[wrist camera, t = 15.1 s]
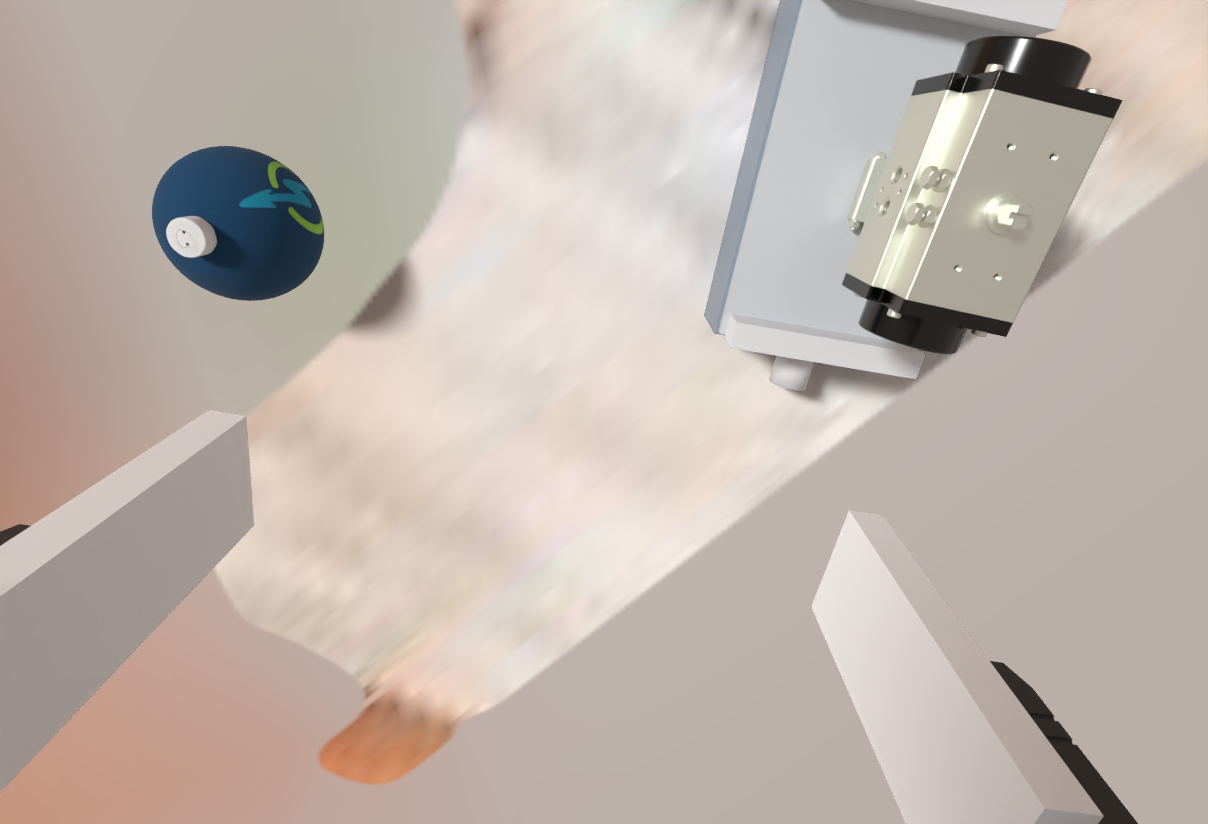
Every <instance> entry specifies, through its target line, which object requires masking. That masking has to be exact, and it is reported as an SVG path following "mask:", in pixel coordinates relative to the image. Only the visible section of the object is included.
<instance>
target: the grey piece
mask: <svg viewBox="0 0 1208 824" xmlns="http://www.w3.org/2000/svg"><path fill="white" fill-rule="evenodd" d="M1067 2H1068V0H780V4H779V8H778V12H777V16H776V20H775V25H774V29H773V33H772V37H771V41H770V45H769V49H768V54H767V58H766V62H765V66H764V70H763V74H762V78H761V83H760V87H759V91H758V95H757V99H756V103H755V107H754V112H753V116H752V120H751V124H750V128H749V132H748V136H747V140H746V145H745V149H744V153H743V157H742V161H741V165H740V169H739V174H738V178H737V182H736V186H735V190H734V194H733V198H732V203H731V207H730V211H729V215H728V219H727V223H726V227H725V232H724V236H723V240H722V244H721V248H720V252H719V256H718V261H717V265H716V269H715V273H714V277H713V281H712V285H711V290H710V294H709V298H708V302H707V306H706V310H705V314H704V316H705V317H706V319H707V321H708V323H709V325H710V326H711V328H712V330H713V332H714V334H720V335H725V336H724V338H725V340H726V342H727V343H728V345H729V347H730V348H734V349H740V350H746V351H752V352H758V353H763V354H769V355H775V356H776V358H775V362H774V365H773V368H772V372H771V375H770V378H769V380H770V381H771V382H772V383H773V384H775V385H777V386H779V387H782V388H785V389H789V390H795V391H803V390H805V389H806V386H807V383H808V380H809V377H810V374H811V371H812V368H813V365H814V362H817V363H822V364H828V365H834V366H840V367H846V368H852V369H858V370H864V371H870V372H876V373H882V374H887V375H893V376H899V377H905V378H911V379H916V378H917V375H918V373H919V370H920V368H921V366H922V363H923V361H924V358H925V356H926V355H925V354H924V353H922V352H921V351H919V350H918V349H916V348H912V347H908V346H905V345H902V344H899V343H895V342H892V341H890V340H887V339H884V338H882V337H879V336H877V335H875V334H872V333H870V332H868V331H866V330H865V329H863V328H862V327H861V326H860V325H859V323H858V322H859V319H860V317H861V314H862V311H863V309H864V306H865V304H866V301H867V299H865V298H861V297H858V296H855V295H854V292H853V291H851V290H849V289H848V288H846V287H844V286H843V285H842V283H843V280H844V277H845V274H846V272H847V269H848V266H849V264H850V261H851V258H852V255H853V253H854V250H855V247H856V244H857V242H858V239H859V236H860V234H861V231H862V228H863V225H864V222H863V223H861V225H860V228H857V229H856V230H852V229H850V227H851V226H848V225H849V222H850V220H849V219H850V218H847V216H848V213H849V211H850V208H851V205H852V202H853V199H854V196H855V194H856V191H857V188H858V185H859V182H860V180H861V177H862V174H863V171H864V168H865V165H866V163H867V160H868V157H872V156H873V155H874V152H875V151H878V152H883V153H886V157H885V158H888V157H889V154H890V152H891V149H892V146H893V143H894V141H895V138H896V135H897V133H898V130H899V127H900V124H901V122H902V119H903V116H904V113H905V111H906V108H907V105H908V103H909V100H910V97H911V94H912V92H913V89H914V86H915V83H916V81H917V80H921V79H925V78H930V77H934V76H939V75H943V74H947V73H952V72H955V71H956V69H957V66H958V63H959V61H960V58H961V56H962V53H963V50H964V48H965V45H966V44H967V43H968V42H969V41H971V40H974V39H977V38H981V37H988V36H1024V37H1034V38H1035V36H1036V35H1039V34H1042V33H1046V32H1050V31H1053V30H1056V29H1057V27H1058V24H1059V22H1060V19H1061V17H1062V14H1063V12H1064V9H1065V7H1066V4H1067ZM852 207H853V206H852Z"/></svg>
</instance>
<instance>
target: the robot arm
mask: <svg viewBox="0 0 1208 824" xmlns="http://www.w3.org/2000/svg"><path fill="white" fill-rule="evenodd" d="M253 526H254V518H253V504H252V490H251V476H250V462H249V448H248V434H247V420H246V416H242V415H235V414H229V413H223V412H216V411H210V410H209V411H207V412H206V413H204V414H203V415H201V416H199V417H198V418H196V419H195V420H193V421H192V422H190V423H189V424H187V425H186V426H184V427H183V428H181V429H179V430H178V431H177V432H175V433H173V434H172V435H170V436H169V437H167V438H166V439H164V440H163V441H161V442H159V443H158V444H156V445H155V446H154V447H152V448H150V449H149V450H147V451H146V452H144V453H143V454H141V455H139V456H138V457H137V458H135V459H133V460H132V461H130V462H129V463H127V464H126V465H124V466H123V467H121V468H120V469H118V470H117V471H115V472H113V473H112V474H110V475H109V476H107V477H106V478H104V479H103V480H101V481H99V482H98V483H96V484H95V485H93V486H92V487H90V488H89V489H87V490H86V491H85V492H83V493H81V494H80V495H78V496H76V497H75V498H73V499H72V500H70V501H69V502H67V503H66V504H64V505H63V506H61V507H59V508H58V509H56V510H55V511H53V512H52V513H50V514H49V515H47V516H46V517H44V518H43V519H41V520H39V521H38V522H36V523H35V524H34V525H32V526H28V525H21V524H19V525H16V526H14V527H12V528H9V529H6V530H4V531H1V532H0V792H1V791H2V790H3V789H4V788H5V787H6V786H7V785H8V784H9V783H10V782H11V781H12V779H13V778H15V776H16V775H17V774H18V773H19V772H20V771H21V770H22V769H23V768H24V767H25V766H26V765H27V764H28V763H29V762H30V761H31V760H32V758H34V756H35V755H36V754H37V753H38V752H39V751H40V750H41V749H42V748H43V747H44V746H45V745H46V744H47V743H48V742H49V741H50V740H51V738H52V737H53V736H54V735H55V734H56V733H57V732H58V731H59V730H60V729H61V728H62V727H63V726H64V725H65V723H67V721H69V720H70V719H71V718H72V716H73V715H74V714H75V713H76V712H77V711H78V710H79V709H80V708H81V707H82V706H83V705H84V704H85V703H86V702H87V701H88V700H89V699H90V697H91V696H92V695H93V694H94V693H95V692H96V691H97V690H98V689H99V688H100V687H101V686H102V685H103V684H104V683H105V682H106V681H107V680H108V679H109V677H110V676H111V675H112V674H113V673H114V672H115V671H116V670H117V669H118V668H119V667H120V666H121V665H122V664H123V663H124V662H125V661H126V659H127V658H128V657H129V656H130V655H131V654H132V653H133V652H134V651H135V650H136V649H137V648H138V647H139V646H140V645H141V644H142V643H143V642H144V641H145V640H146V638H147V637H148V636H149V635H150V634H151V633H152V632H153V631H154V630H155V629H156V628H157V627H158V626H159V625H160V624H161V623H162V622H163V621H164V620H165V619H166V617H167V616H168V615H169V614H170V613H171V612H172V611H173V610H174V609H175V608H176V607H177V606H178V605H179V604H180V603H181V602H182V601H183V600H184V598H185V597H186V596H187V595H188V594H189V593H190V592H191V591H192V590H193V589H194V588H195V587H196V586H197V585H198V584H199V583H200V582H201V581H202V579H203V578H204V577H205V576H206V575H207V574H208V573H209V572H210V571H211V570H212V569H213V568H214V567H215V566H216V565H217V564H218V563H219V562H220V561H221V560H222V558H223V557H224V556H225V555H226V554H227V553H228V552H229V551H230V550H231V549H232V548H233V547H234V546H235V545H236V544H237V543H238V542H239V541H240V540H241V538H242V537H243V536H244V535H245V534H246V533H247V532H248V531H249V530H250V529H251V528H252V527H253ZM811 607H812V609H813V611H814V613H815V616H816V618H817V621H818V623H819V625H820V628H821V630H822V632H823V634H824V637H825V639H826V641H827V644H828V646H829V648H830V651H831V653H832V655H833V657H834V660H835V662H836V664H837V666H838V669H839V671H840V673H841V676H842V678H843V680H844V683H845V685H846V687H847V690H848V692H849V694H850V696H851V699H852V701H853V703H854V706H855V708H856V710H857V712H858V715H859V717H860V719H861V722H862V724H863V726H864V729H865V731H866V733H867V735H868V738H869V740H870V742H871V745H872V747H873V749H874V752H875V754H876V756H877V759H878V761H879V763H880V765H881V768H882V770H883V772H884V775H885V777H886V779H887V781H888V784H889V786H890V788H891V790H892V793H893V795H894V797H895V800H896V802H897V804H898V807H899V809H900V811H901V814H902V816H903V818H904V820H905V823H906V824H1138V823H1137V822H1136V821H1135V819H1134V818H1133V817H1132V815H1131V814H1130V813H1129V812H1128V810H1127V809H1126V808H1125V806H1124V805H1123V804H1122V803H1121V801H1120V800H1119V799H1118V798H1117V796H1116V795H1115V794H1114V792H1113V791H1112V790H1111V788H1110V787H1109V786H1108V785H1107V783H1106V782H1105V781H1104V780H1103V778H1102V777H1101V776H1100V774H1099V773H1098V772H1097V770H1096V769H1095V768H1094V767H1093V765H1092V764H1091V763H1090V761H1089V760H1088V759H1087V758H1086V756H1085V755H1084V754H1083V753H1082V751H1081V750H1080V749H1079V747H1078V746H1077V745H1073V744H1072V739H1071V737H1070V736H1069V735H1068V733H1067V732H1066V731H1065V729H1064V728H1063V727H1062V726H1061V724H1060V723H1059V722H1058V721H1054V715H1053V714H1052V713H1051V711H1050V710H1049V709H1048V708H1047V706H1046V705H1045V704H1044V703H1043V701H1042V700H1041V699H1040V697H1039V696H1038V695H1037V693H1036V692H1035V691H1034V690H1033V688H1032V687H1030V686H1029V685H1028V684H1027V683H1026V682H1025V681H1023V680H1022V679H1021V678H1020V677H1019V676H1018V675H1016V674H1015V673H1014V672H1013V671H1012V670H1010V669H1009V668H1008V667H1007V666H1006V665H1005V664H1004V663H999V662H993V661H989V660H988V658H987V657H986V655H985V654H984V653H983V651H982V650H981V649H980V647H979V646H978V645H977V643H976V642H975V641H974V639H973V638H972V636H971V635H970V634H969V632H968V631H967V630H966V628H965V627H964V626H963V624H962V623H961V622H960V620H959V619H958V617H957V616H956V615H955V613H954V612H953V611H952V609H951V608H950V607H949V605H948V604H947V603H946V601H945V600H944V598H943V597H942V596H941V595H940V593H939V592H938V590H937V589H936V588H935V586H934V585H933V584H932V582H931V581H930V579H929V578H928V577H927V575H926V574H925V573H924V571H923V570H922V569H921V567H920V566H919V565H918V563H917V562H916V560H915V559H914V558H913V556H912V555H911V554H910V552H909V551H908V550H907V548H906V547H905V546H904V544H903V543H902V541H901V540H900V539H899V537H898V536H897V535H896V533H895V532H894V531H893V529H892V528H891V527H890V525H889V524H888V522H887V521H886V520H885V518H884V517H883V516H882V515H877V514H871V513H865V512H858V511H851V510H849V511H848V514H847V517H846V519H845V522H844V524H843V527H842V530H841V532H840V534H839V537H838V540H837V542H836V545H835V547H834V550H833V552H832V555H831V558H830V560H829V563H828V565H827V568H826V571H825V573H824V576H823V578H822V581H821V583H820V586H819V588H818V591H817V594H816V596H815V599H814V601H813V604H812V606H811Z"/></svg>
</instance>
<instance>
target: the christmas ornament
mask: <svg viewBox="0 0 1208 824" xmlns="http://www.w3.org/2000/svg"><path fill="white" fill-rule="evenodd" d="M152 218H153V225H154V229H155V233H156V236H157V239H158V241H159V243H160V245H161V247H162V249H163V251H164V253H165V254H166V256H167V257H168V259H169V260H170V261H171V262H172V264H173V265H174V266H175V267H176V268H177V269H178V270H179V271H180V272H181V273H182V274H183V275H184V276H186V277H187V278H188V279H189V280H191V281H192V282H194V283H195V284H197V285H198V286H200V287H202V288H204V289H206V290H208V291H210V292H212V293H215V294H217V295H220V296H224V297H227V298H231V299H237V300H248V301H251V300H264V299H270V298H274V297H277V296H280V295H283V294H285V293H287V292H289V291H291V290H293V289H294V288H296V287H297V286H299V285H300V284H301V283H303V282H304V281H305V280H306V279H307V278H308V276H309V275H310V274H311V273H312V272H313V270H314V269H315V267H316V265H317V263H318V261H319V259H320V256H321V253H322V249H323V243H324V227H323V221H322V216H321V213H320V210H319V207H318V205H317V203H316V201H315V199H314V197H313V195H312V194H311V192H310V191H309V189H308V188H307V186H306V185H305V184H304V183H303V182H302V181H301V180H300V178H299V177H298V176H297V175H295V174H294V173H293V172H292V171H291V170H290V169H289V168H287V167H286V166H285V165H283V164H281V163H280V162H278V161H277V160H275V159H273V158H271V157H269V156H267V155H265V154H262V153H260V152H257V151H254V150H250V149H246V148H240V147H233V146H218V147H210V148H205V149H201V150H198V151H196V152H192V153H190V154H188V155H186V156H185V157H183V158H181V159H180V160H178V161H177V162H176V163H174V164H173V165H172V166H171V167H170V168H169V169H168V170H167V172H166V173H165V174H164V175H163V177H162V179H161V180H160V182H159V184H158V186H157V188H156V191H155V195H154V198H153V205H152Z"/></svg>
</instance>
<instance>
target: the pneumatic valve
mask: <svg viewBox="0 0 1208 824" xmlns="http://www.w3.org/2000/svg"><path fill="white" fill-rule="evenodd" d="M1090 62H1091V56H1090V54H1089V53H1087V52H1086V51H1084V50H1082V49H1081V48H1078V47H1075V46H1073V45H1070V44H1066V43H1062V42H1058V41H1053V40H1048V39H1041V38H1034V37H1024V36H988V37H981V38H977V39H974V40H971V41H969V42H968V43H967V44H966V45H965V48H964V50H963V53H962V56H961V58H960V61H959V63H958V66H957V69H956V71H955V72H952V73H947V74H943V75H939V76H934V77H930V78H925V79H921V80H917V81H916V83H915V86H914V89H913V92H912V94H911V97H910V100H909V103H908V105H907V108H906V111H905V113H904V116H903V119H902V122H901V124H900V127H899V130H898V133H897V135H896V138H895V141H894V143H893V146H892V149H891V152H890V154H889V157H888V158H885V157H886V153H883V152H878V151H875V152H874V155H873V156H872V157H868V160H867V163H866V165H865V168H864V171H863V174H862V177H861V180H860V182H859V185H858V188H857V191H856V194H855V196H854V199H853V202H852V205H851V208H850V211H849V213H848V216H847V218H850V219H849V220H850V222H849V225H848V226H851V227H850V229H852V230H856V229H857V228H860V225H861V223H863V222H864V225H863V228H862V231H861V234H860V236H859V239H858V242H857V244H856V247H855V250H854V253H853V255H852V258H851V261H850V264H849V266H848V269H847V272H846V274H845V277H844V280H843V283H842V285H843V286H844V287H846V288H848V289H849V290H851V291H853V292H854V295H855V296H858V297H861V298H865V299H867V301H866V304H865V306H864V309H863V311H862V314H861V317H860V319H859V322H858V323H859V325H860V326H861V327H862V328H863V329H865V330H866V331H868V332H870V333H872V334H875V335H877V336H879V337H882V338H884V339H887V340H890V341H892V342H895V343H899V344H902V345H905V346H908V347H912V348H916V349H920V350H924V351H929V352H934V353H940V354H953V353H956V351H957V350H958V348H959V345H960V343H961V341H962V339H963V337H964V335H965V332H966V330H967V328H968V329H972V334H974V335H977V336H981V337H985V336H986V334H987V333H991V334H996V335H1000V336H1005V337H1006V336H1007V334H1008V332H1009V330H1010V328H1011V326H1012V324H1013V322H1014V320H1015V317H1016V316H1017V314H1018V312H1019V310H1020V308H1021V306H1022V304H1023V301H1024V299H1025V297H1026V295H1027V293H1028V291H1029V289H1030V287H1031V285H1032V283H1033V281H1034V279H1035V277H1036V275H1037V273H1038V271H1039V269H1040V267H1041V265H1042V263H1043V261H1044V259H1045V257H1046V255H1047V253H1048V251H1049V249H1050V247H1051V245H1052V243H1053V240H1054V238H1055V236H1056V234H1057V232H1058V230H1059V228H1060V226H1061V224H1062V222H1063V220H1064V218H1065V216H1066V214H1067V212H1068V210H1069V208H1070V206H1071V204H1072V202H1073V200H1074V198H1075V196H1076V194H1077V192H1078V190H1079V188H1080V186H1081V184H1082V182H1083V180H1084V177H1085V175H1086V173H1087V171H1088V169H1089V167H1090V165H1091V163H1092V161H1093V159H1094V157H1095V155H1096V153H1097V151H1098V149H1099V147H1100V145H1101V143H1102V141H1103V139H1104V137H1105V135H1106V133H1107V131H1108V129H1109V127H1110V125H1111V123H1112V121H1113V119H1114V116H1115V114H1116V112H1117V110H1118V108H1119V106H1120V104H1121V102H1122V100H1119V99H1115V98H1111V97H1107V96H1103V95H1101V94H1102V91H1101V90H1099V89H1094V88H1087V89H1085V90H1084V91H1083V90H1079V89H1078V88H1079V86H1080V84H1081V82H1082V80H1083V77H1084V75H1085V73H1086V71H1087V69H1088V67H1089V64H1090ZM852 206H853V207H852Z"/></svg>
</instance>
